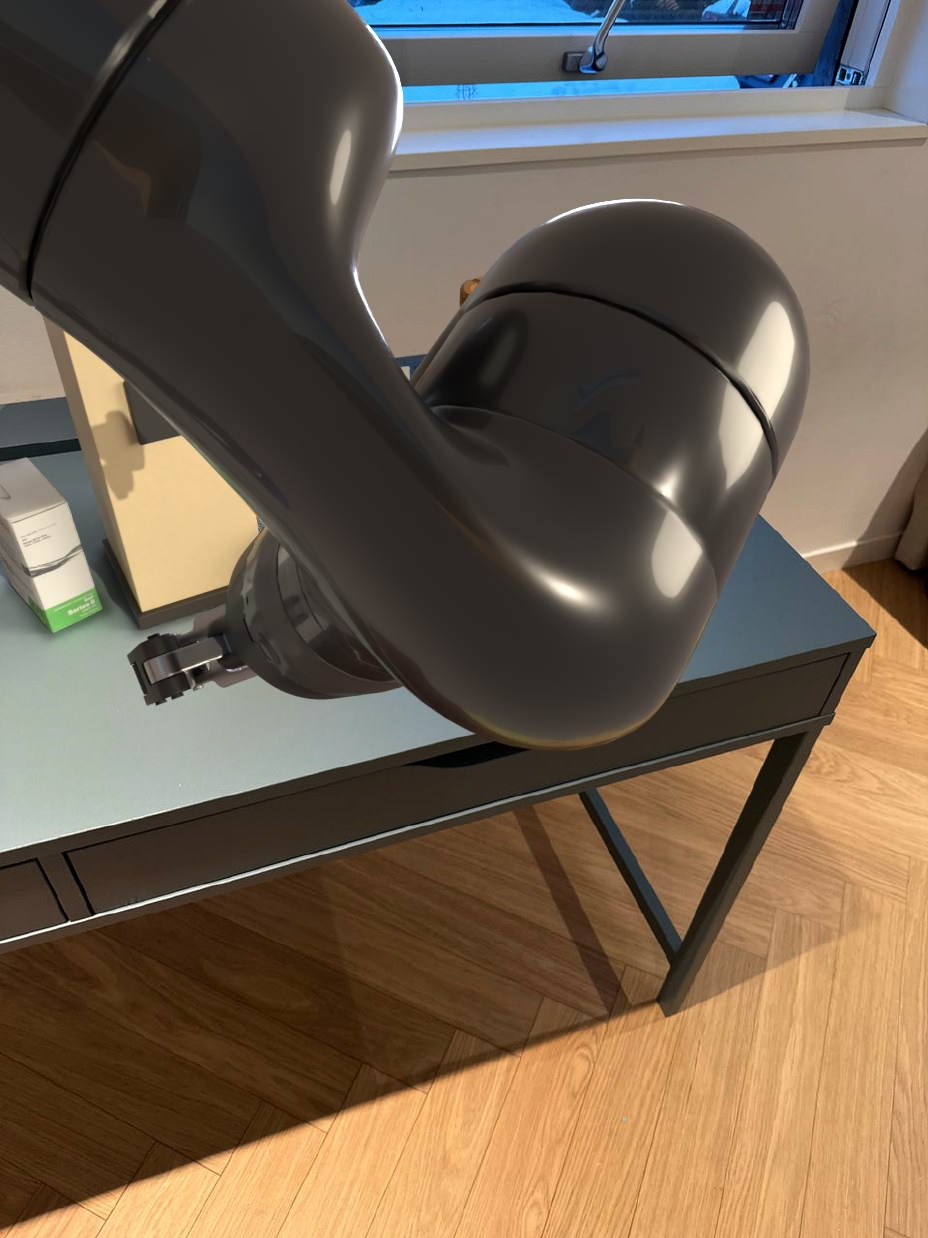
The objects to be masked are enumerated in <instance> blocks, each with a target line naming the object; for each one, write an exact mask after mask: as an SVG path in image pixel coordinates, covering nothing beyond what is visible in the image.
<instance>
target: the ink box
mask: <svg viewBox="0 0 928 1238" xmlns="http://www.w3.org/2000/svg"><path fill="white" fill-rule="evenodd" d="M0 558H1V561H2V563H3V565H4V569H5V571H6V573H7V575H8V578H9V581H10V583H11V586H12V587H13V588H14V589H15V590H16V592H17V593H18V594H19V596H20V597H21V598H22V599H23V600H24V602H25V603H26V604H27V605H28V607H29V608H31V610H32V611H33V612H34V614H35V615H36V616H37V617H38V618H39V620H40V621H41V622H42V623H43V624H44V626H45V627H46V628H47V629H48V631H49V632H51V633H53V634H55V633H57V632H59V631H61V630H63V629H65V628H68V627H69V626H71V625H74V624H76V623H78V622H80V621H82V620H84V619H87V618H88V617H90V616H92V615H94V614H96V613H98V612H101V610H103V606H102V603H101V600H100V597H99V594H98V591H97V588H96V584H95V582H94V579H93V575H92V573H91V569H90V567H89V564H88V560H87V557H86V555H85V552H84V549H83V546H82V542H81V539H80V536H79V533H78V529H77V526H76V524H75V521H74V517H73V514H72V512H71V509H70V506H69V503H68V500H66V499H65V498H64V497H63V495H62V494H61V493H60V492H59V491H58V490H57V489H56V488H55V486H54V485H52V483H51V482H50V481H49V480H48V478H47V477H46V476H45V475H44V474H43V473H42V472H41V471H40V470H39V469H38V468H37V467H36V466H35V465H34V463H33V462H32V461H31V460H30V459H29V458H28V457H22V458H19V459H16V460H13V461H9V462H7V463H3V464H1V465H0Z"/></svg>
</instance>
